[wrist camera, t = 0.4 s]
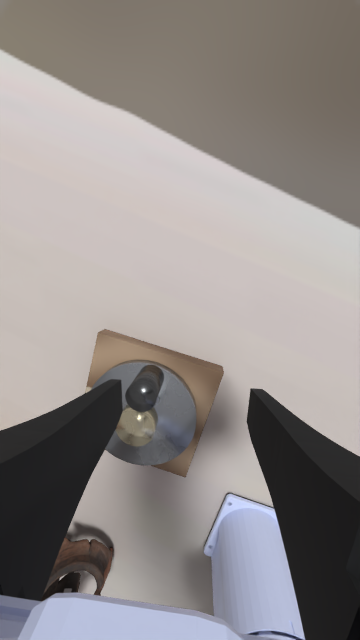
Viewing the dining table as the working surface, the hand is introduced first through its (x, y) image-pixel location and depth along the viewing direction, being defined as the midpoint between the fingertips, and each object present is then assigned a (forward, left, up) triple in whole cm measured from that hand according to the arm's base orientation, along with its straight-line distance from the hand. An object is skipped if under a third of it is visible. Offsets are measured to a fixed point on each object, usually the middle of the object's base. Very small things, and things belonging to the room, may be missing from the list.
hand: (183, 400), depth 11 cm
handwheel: (-8, +3, -8) cm, 12 cm away
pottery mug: (-33, +6, -10) cm, 35 cm away
